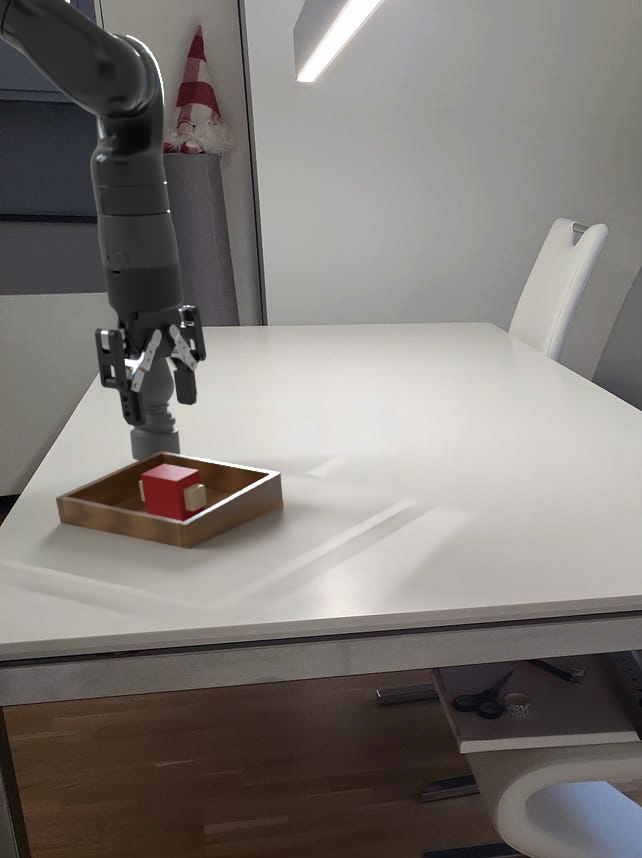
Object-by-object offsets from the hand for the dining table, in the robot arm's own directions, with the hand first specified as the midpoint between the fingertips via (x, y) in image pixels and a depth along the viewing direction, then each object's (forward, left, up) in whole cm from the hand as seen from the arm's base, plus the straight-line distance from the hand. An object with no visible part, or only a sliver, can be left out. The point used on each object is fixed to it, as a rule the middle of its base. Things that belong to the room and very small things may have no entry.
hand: (162, 413), depth 114 cm
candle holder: (-16, +16, -12) cm, 26 cm away
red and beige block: (0, 0, -12) cm, 12 cm away
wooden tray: (0, 0, -13) cm, 13 cm away
